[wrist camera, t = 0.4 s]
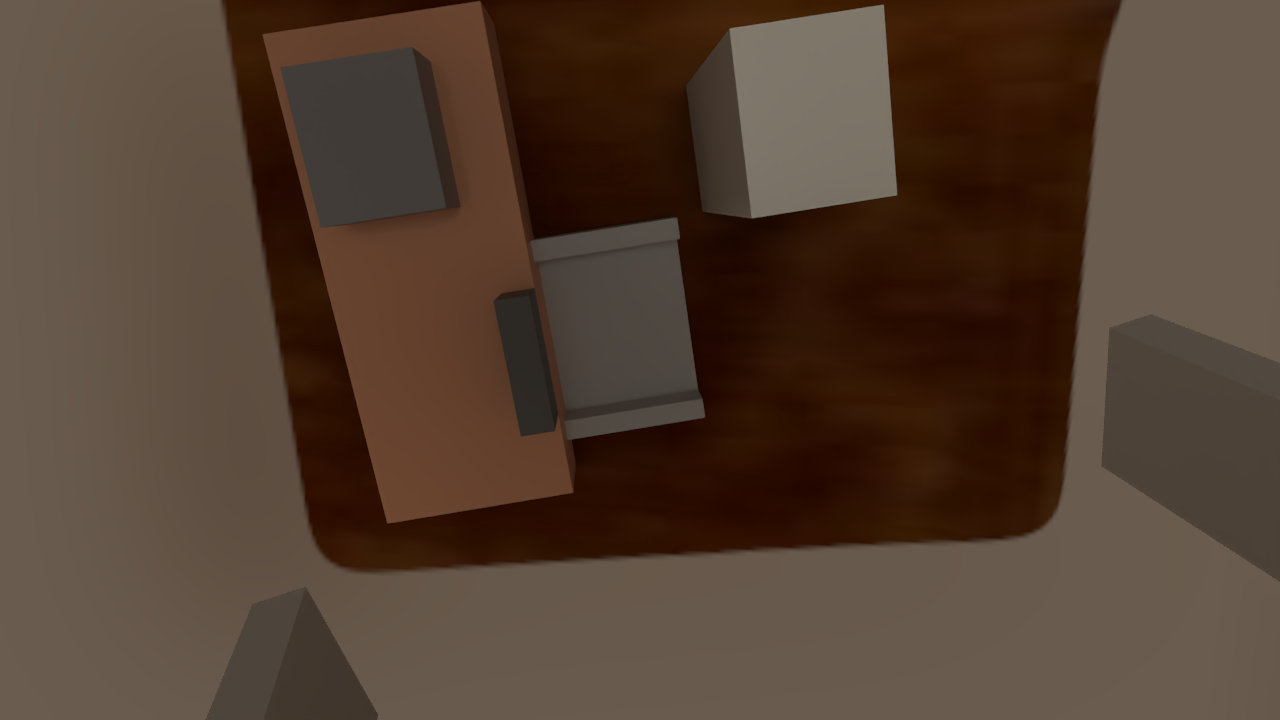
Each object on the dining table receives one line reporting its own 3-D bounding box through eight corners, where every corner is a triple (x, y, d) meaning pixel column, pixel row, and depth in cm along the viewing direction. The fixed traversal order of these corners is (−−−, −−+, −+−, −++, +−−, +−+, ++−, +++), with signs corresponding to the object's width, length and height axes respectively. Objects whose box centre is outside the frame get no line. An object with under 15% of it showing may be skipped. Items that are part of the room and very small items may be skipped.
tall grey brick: (685, 85, 34) (729, 28, 23) (788, 70, 35) (883, 4, 23) (702, 211, 36) (751, 218, 24) (800, 196, 36) (897, 195, 24)
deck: (302, 53, 33) (225, 16, 26) (642, 1, 34) (653, -50, 27) (409, 490, 38) (367, 553, 31) (704, 441, 39) (727, 493, 32)
